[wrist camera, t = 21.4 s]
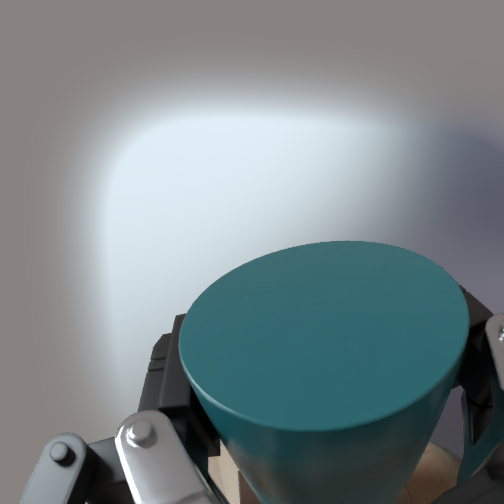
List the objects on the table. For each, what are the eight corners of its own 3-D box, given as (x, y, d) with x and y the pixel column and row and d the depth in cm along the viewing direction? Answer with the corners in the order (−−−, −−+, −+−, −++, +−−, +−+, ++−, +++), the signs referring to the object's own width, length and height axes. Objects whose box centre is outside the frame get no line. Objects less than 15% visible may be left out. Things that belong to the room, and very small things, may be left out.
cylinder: (277, 558, 8) (157, 459, 3) (264, 462, 14) (191, 268, 9) (407, 523, 8) (528, 342, 3) (372, 435, 13) (386, 225, 9)
